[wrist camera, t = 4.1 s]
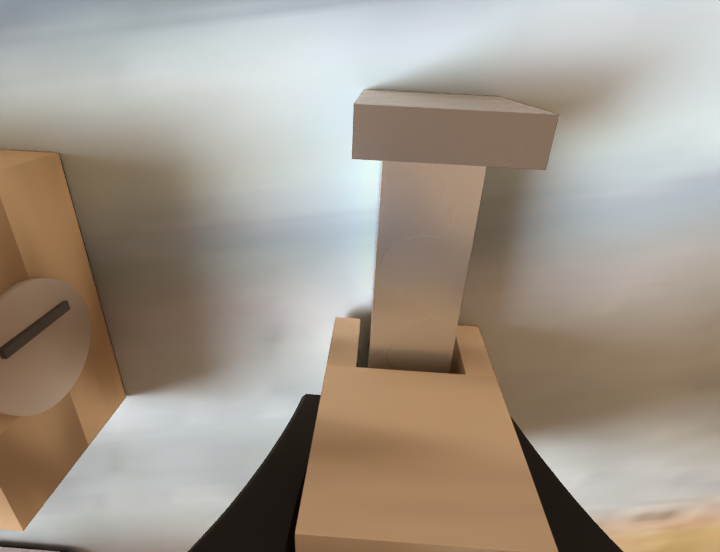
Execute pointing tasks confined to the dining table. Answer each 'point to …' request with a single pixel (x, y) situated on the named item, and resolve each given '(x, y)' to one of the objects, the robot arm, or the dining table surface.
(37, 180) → the wooden box with dial
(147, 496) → the dining table surface
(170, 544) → the dining table surface
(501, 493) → the block
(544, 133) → the rail
